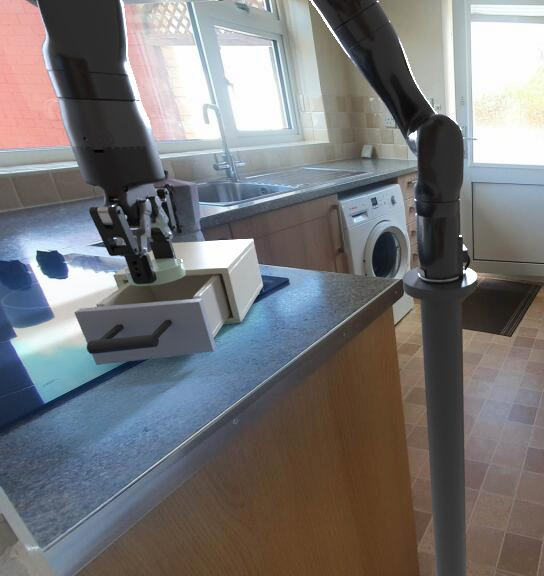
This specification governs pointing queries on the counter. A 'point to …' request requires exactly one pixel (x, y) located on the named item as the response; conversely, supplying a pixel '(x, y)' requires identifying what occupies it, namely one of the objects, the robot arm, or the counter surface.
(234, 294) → the cabinet
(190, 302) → the drawer
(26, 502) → the counter surface
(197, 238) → the moka pot
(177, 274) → the pale green disc
